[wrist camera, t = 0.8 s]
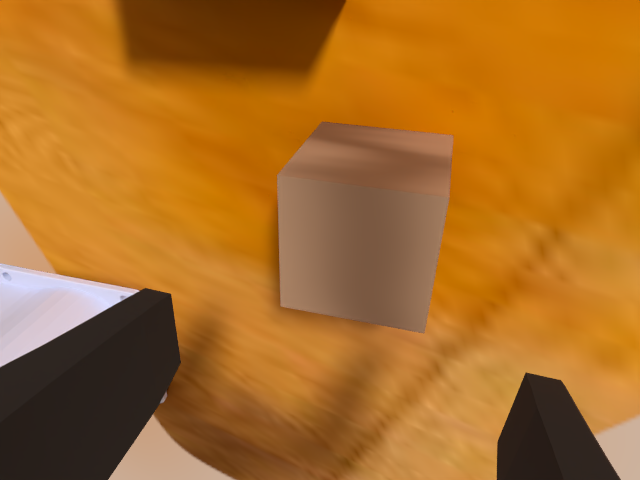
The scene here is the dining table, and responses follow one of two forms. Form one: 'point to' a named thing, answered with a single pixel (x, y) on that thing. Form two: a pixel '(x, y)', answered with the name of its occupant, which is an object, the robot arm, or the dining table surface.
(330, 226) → the walnut block
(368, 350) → the dining table surface
